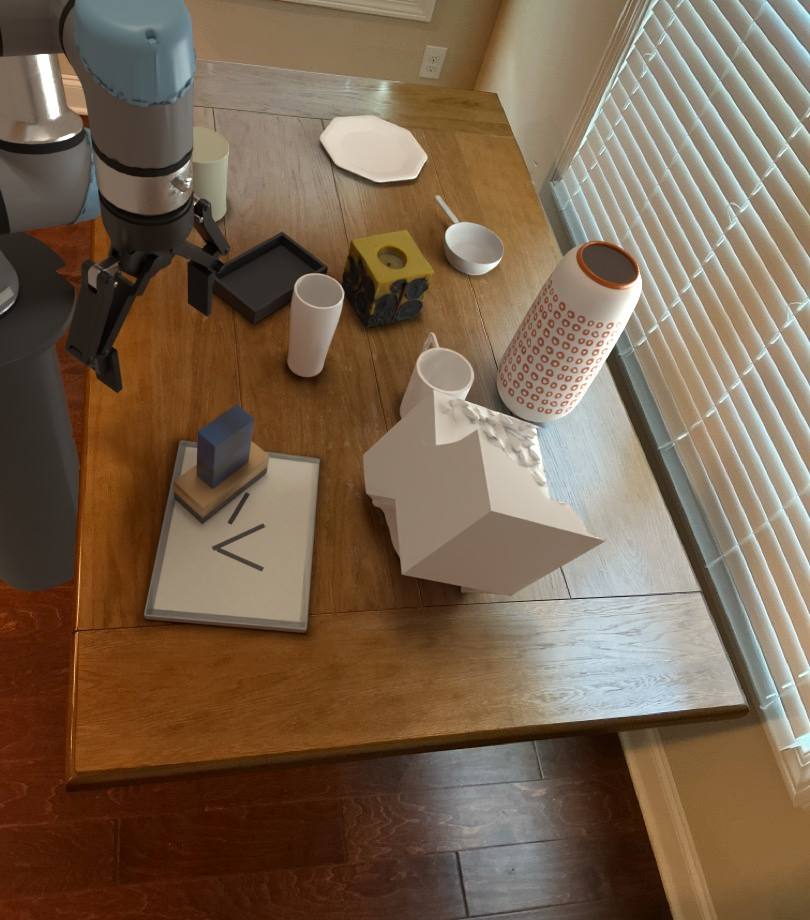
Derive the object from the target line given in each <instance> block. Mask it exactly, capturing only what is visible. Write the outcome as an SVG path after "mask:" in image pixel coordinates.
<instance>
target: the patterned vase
mask: <svg viewBox="0 0 810 920" xmlns="http://www.w3.org/2000/svg"><path fill="white" fill-rule="evenodd" d="M642 287H643V285H642V276H641V273H640V267H639V265H638V263H637V262H636V260H635V258H634V257H633V255H631V254H630V253H629V252H627V251H626V250H625V249H624V248H622V247H621V246H618V245H616V244H614V243H612V242H608V241H603V240H591V241H588V242H585V243H581V244H578V245H576V246H574V247H572V248H571V249H569V250H568V251H567V252H566V253H565V255H563V257H562V258H560V261H558V263H557V264H556V265H555V268H554V269H553V271H551V274H550V275H549V276H548V278H547V279H546V281H545V283H543V285H542V287H541V288H540V290H539V292H538V294H537V296H536V297H535V299H534V300H533V301H532V304H530V306H529V308H528V310H527V312H526V314H525V315H524V316H523V319H522V320H521V323H520V324H519V326H518V328H517V329H516V331H515V333H514V335H513V337H512V338H511V340H510V342H509V344H508V346H507V347H506V349H505V352H504V353H503V355H502V356H501V358H500V361H499V364H498V367H497V371H496V387H497V392H498V394H499V396H500V398H501V400H502V402H503V403H504V405H505V407H506V409H508V411H510V413H512V414H513V415H514V416H516V417H517V418H518V419H520V420H522V421H525V422H529V423H549V422H555V421H558V420H560V419H562V418H564V417H566V416H568V414H570V413H571V412H572V411H573V410H574V409H575V408H576V407H577V406H578V405H579V403H580V401H581V400H582V399H583V397H584V396H585V394H586V392H587V390H588V389H589V387H590V386H591V384H592V382H593V381H594V380H595V378H596V376H597V375H598V374H599V371H600V370H601V368H602V367H603V365H604V363H605V362H606V360H607V359H608V357H609V355H610V354H611V352H612V350H613V349H614V347H615V345H616V344H617V341H618V340H619V338H620V336H621V334H622V332H623V331H624V329H625V327H626V325H627V323H628V322H629V319H630V317H631V316H632V313H633V311H634V309H635V308H636V306H637V303H638V301H639V299H640V296H641V292H642Z"/></svg>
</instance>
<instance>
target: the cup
mask: <svg viewBox="0 0 810 920" xmlns="http://www.w3.org/2000/svg"><path fill="white" fill-rule="evenodd" d="M431 344H432V348H429V347H430V346H431ZM474 380H475V372H474V369H473V366H472V365H471V363H470V362H469V360H468V359H467V358H465V356H463V355H462V354H460V353H459V352H457V351H456V350H453V349H451V348H446V347H440V344H439V342H438V339H437V336H436V334H435V333H434V332H433V331H432V332H429V334H428V336H427V338H426V339H425V341H424V342H423V346H422V350H421V353H420V355H419V356H418V358H417V360H416V362H415V366H414V368H413V371H412V373H411V376H410V379H409V381H408V384H407V388H406V389H405V391H404V395H403V398H402V400H401V403H400V406H399V415H400V418H401V419H402V418H403V417H405V416H406V415H407V414H408V413H409V412H410V411H411V410H412V409H413V408H414V407H415V406H416V405H417V404H419V403H420V402H421V401H422V400H423V399H424V398H425V397H426V396H427V395H428V394H429V393H430V392H431V391H433V390H436V391H438V392H441V393H444V394H447V395H450V396H453V397H456V398H459V399H462V400H464V401H466V397H467V395H468V394H469V392H470V389H471V388H472V386H473V383H474Z"/></svg>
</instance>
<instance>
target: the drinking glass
mask: <svg viewBox="0 0 810 920" xmlns="http://www.w3.org/2000/svg"><path fill="white" fill-rule="evenodd" d="M344 299H345V292H344V290H343V288H342V286H341V283H340V282H338V280H336V279H335V278H333V277H332V276H329V275H328V274H327V275H324V274H318V273H312V274H307V275H304V276H302V277H300V278H299V279H298V280H297V281H296V283H295V286H294V290H293V295H292V300H291V301H290V309H289V329H288V331H289V332H288V353H287V358H286V362H287V366H288V368H289V370H290V371H291V372H292V373H293V374H295V375H296V376H298V377H302V378H312V377H316V376H317V375H319V374H320V373H322V371H323V370H324V369H323V368H324V367H325V361H326V358H327V355H328V352H329V349H330V347H331V344H332V341H333V338H334V336H335V334H336V333H335V332H336V330H337V327H338V324H339V321H340V318H341V314H342V309H343V306H344Z"/></svg>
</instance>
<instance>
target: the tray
mask: <svg viewBox="0 0 810 920" xmlns="http://www.w3.org/2000/svg"><path fill="white" fill-rule="evenodd" d="M223 263H224V264H225V267H224V269H223V271H222V272H221V273H217V272H215V276H214V277H215V280H214V283H213V285H212V292H214V293H215V294H216V295H217V296H219V298H221V299H222V300H224V301H225V303H227V304H228V305H230V306H231V307H232V308H233V309H235V310H236V311H238V313H240V314H241V315H242V316H243V317H245V318H246V319H247V321H249V322H251V324H253V325H255V324H257V323H259V322H260V321H261V320H263V319H264V318H266V317H268V316H269V315H271V314H272V313H274V312H276V311H278V310H279V309H281V308H282V307H284V306H285V305H287V304H288V303H291V300H292V295H293V290H294V286H295V283H296V281H297V280H298V279H299V278H300V277H302V276H304V275H307V274H312V273H318V274H324V275H327V276H328V270H329V266H328V265H327V264H325V263H324V262H323V261H322V260H320V259H319V258H318V257H316V256H315V255H314V254H313V253H311V252H310V251H308V250H307V249H306V248H305V247H304V246H302V245H301V244H299V243H298V242H297V241H296V240H294V239H293V238H291V237H290V236H289V235H288V234H286V232H284V231H280V232H279V233H277V234H275V235H273V236H271V237H270V238H268V239H266V240H263V241H262V242H260V243H258V244H257V245H255V246H253V247H251V248H249V249H247V250H246V251H244V252H242V253H240V254H238V255H237V256H235V257H233V258H231V259H229V260H227V261H226V262H223Z"/></svg>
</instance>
